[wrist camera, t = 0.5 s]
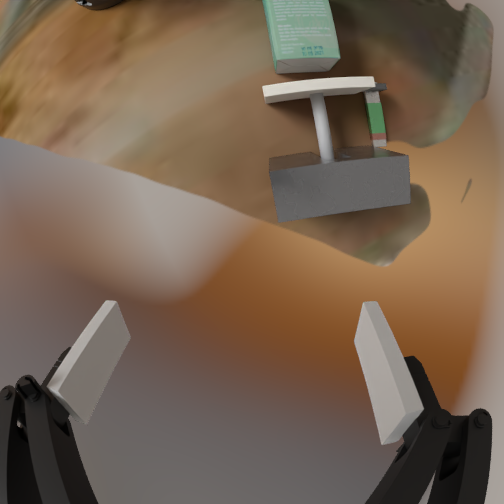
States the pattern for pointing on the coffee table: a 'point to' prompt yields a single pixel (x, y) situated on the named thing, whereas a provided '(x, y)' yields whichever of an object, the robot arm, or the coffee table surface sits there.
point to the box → (301, 35)
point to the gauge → (342, 176)
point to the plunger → (320, 100)
